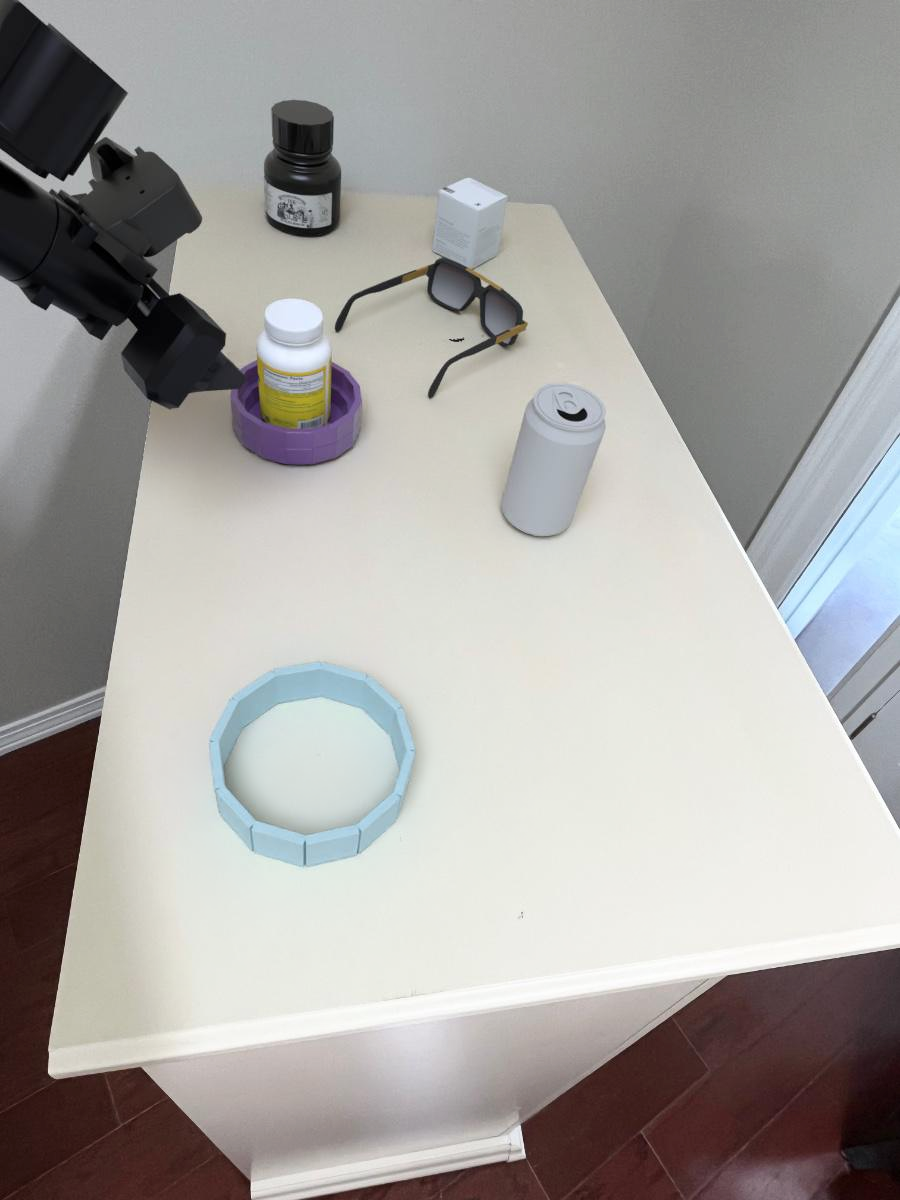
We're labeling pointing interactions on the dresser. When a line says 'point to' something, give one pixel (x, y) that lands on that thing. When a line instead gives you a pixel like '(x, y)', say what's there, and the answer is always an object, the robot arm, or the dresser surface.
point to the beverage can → (553, 458)
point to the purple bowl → (298, 442)
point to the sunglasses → (460, 304)
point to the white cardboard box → (469, 222)
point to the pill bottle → (294, 366)
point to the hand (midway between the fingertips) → (212, 349)
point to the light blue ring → (300, 686)
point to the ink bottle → (302, 170)
